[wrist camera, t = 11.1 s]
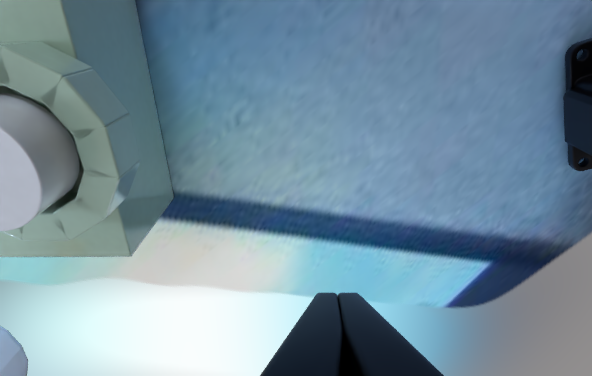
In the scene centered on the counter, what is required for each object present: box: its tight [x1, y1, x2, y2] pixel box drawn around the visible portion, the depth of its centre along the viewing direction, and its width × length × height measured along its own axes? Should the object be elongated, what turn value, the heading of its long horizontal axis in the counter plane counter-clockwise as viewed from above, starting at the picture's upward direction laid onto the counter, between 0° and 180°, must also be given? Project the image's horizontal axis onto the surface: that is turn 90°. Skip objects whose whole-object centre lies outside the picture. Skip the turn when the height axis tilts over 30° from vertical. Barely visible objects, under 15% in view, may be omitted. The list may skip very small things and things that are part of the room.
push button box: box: [0, 0, 174, 257], centre depth 16 cm, size 11×11×8 cm
